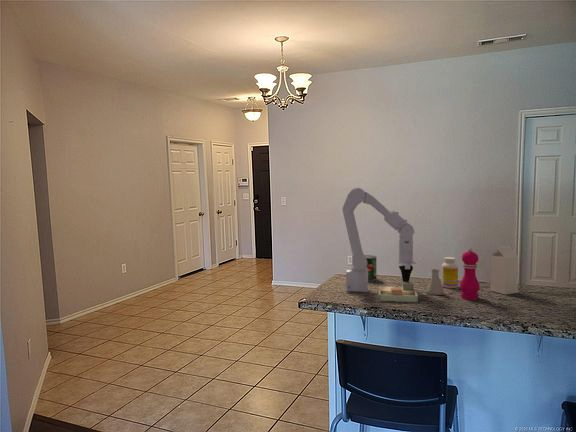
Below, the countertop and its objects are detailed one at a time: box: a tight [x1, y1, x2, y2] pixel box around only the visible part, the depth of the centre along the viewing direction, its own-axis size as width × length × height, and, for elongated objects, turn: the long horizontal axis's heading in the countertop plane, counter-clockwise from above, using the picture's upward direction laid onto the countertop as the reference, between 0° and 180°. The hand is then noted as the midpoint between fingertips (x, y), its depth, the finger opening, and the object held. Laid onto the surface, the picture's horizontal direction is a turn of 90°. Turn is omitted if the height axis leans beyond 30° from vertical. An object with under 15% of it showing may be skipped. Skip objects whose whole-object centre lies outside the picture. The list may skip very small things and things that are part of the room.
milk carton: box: [490, 245, 519, 295], centre depth 170 cm, size 7×7×19 cm
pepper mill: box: [459, 247, 481, 301], centre depth 162 cm, size 7×7×20 cm
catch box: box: [378, 290, 419, 303], centre depth 162 cm, size 15×6×2 cm, turn 80°
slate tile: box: [401, 281, 414, 290], centre depth 169 cm, size 4×4×2 cm
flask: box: [425, 268, 445, 296], centre depth 171 cm, size 7×7×10 cm
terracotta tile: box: [391, 288, 402, 295], centre depth 161 cm, size 4×4×2 cm
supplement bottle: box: [441, 256, 459, 289], centre depth 181 cm, size 7×7×13 cm
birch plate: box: [378, 285, 416, 296], centre depth 169 cm, size 14×8×2 cm, turn 80°
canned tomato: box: [364, 254, 378, 282], centre depth 199 cm, size 8×8×11 cm
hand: (405, 282), depth 176 cm, fingers closed
